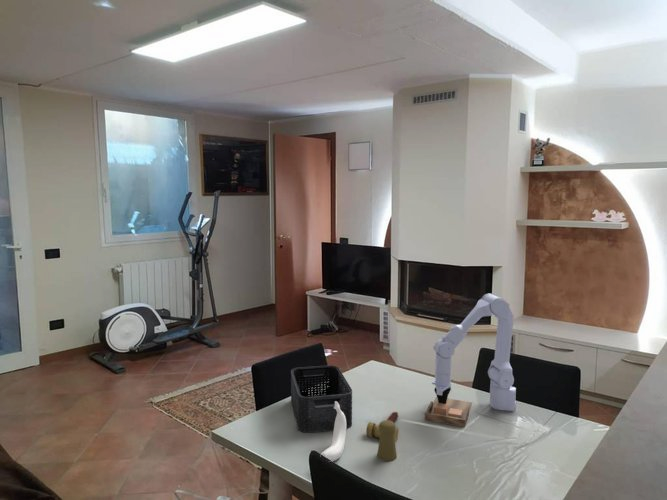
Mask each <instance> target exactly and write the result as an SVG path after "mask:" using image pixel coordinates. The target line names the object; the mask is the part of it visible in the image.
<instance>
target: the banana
mask: <svg viewBox="0 0 667 500" xmlns="http://www.w3.org/2000/svg"><path fill="white" fill-rule="evenodd" d="M334 409H336V411H337V416H336V419H335V424H334V430H332V431H333V433H332V438H331V443H330V446H329V447H327V448H326V449H325V450H323V451H322V452H321V453H320V456H321V455H323V456H325V457H326V458H328V459H330V460H331V461H330V462H333V461H337V460H338V459H340V457H341V456H342V454H343V452H344V448H345V443H346V437H347V436H346V435H347V429H346V418H345V415H344V413H343V412H342V411H341V410H340V406H339V404H338V402H337V401H335V406H334Z"/></svg>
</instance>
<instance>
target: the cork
mask: <svg viewBox="0 0 667 500" xmlns="http://www.w3.org/2000/svg"><path fill="white" fill-rule="evenodd" d="M378 425H379V430H380V432H381V433H380V438H379V440H378V441H379V442H378V448H377V455H376V457H377V458H378V459H379V460H381V461H384V462H392V461H395V460H397V457H398V455H397V448H396V447H397V446H396V442H395V438H394V433H395V430H396V426H397V425H396V424H395V422H392V421H390V420H387V419H384V420H382V421H381V422H380V423H379V424H378Z"/></svg>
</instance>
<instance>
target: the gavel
mask: <svg viewBox="0 0 667 500" xmlns="http://www.w3.org/2000/svg"><path fill="white" fill-rule="evenodd" d="M398 414H399V412H398V411H393V412H392V413H391V414H390V415H389V416H388V418H387V419H386V420H390V421H392V422H394V423H395V422H396V421H397V419H398V418H399V415H398ZM365 430H366V432H365V433H366V436H367V437H369V438H374V437H375V438H379V439H380V433H381V432H380V430H379V424H376V423H375V422H371V421H369V422H368V423H367V425H366V429H365ZM394 438H395V443H396V442H397V441H398V438H399V428H398V427H396V430H395V433H394Z"/></svg>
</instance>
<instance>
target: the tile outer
mask: <svg viewBox="0 0 667 500" xmlns="http://www.w3.org/2000/svg"><path fill="white" fill-rule="evenodd" d="M447 412H448V404H443V403H437V402H436V404H435V406H434V414H439V415H445V416H446V415H447Z"/></svg>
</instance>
